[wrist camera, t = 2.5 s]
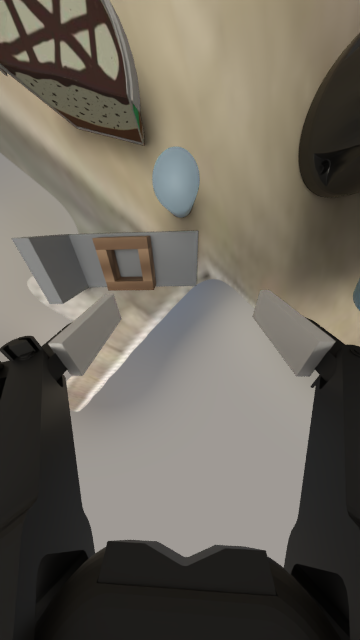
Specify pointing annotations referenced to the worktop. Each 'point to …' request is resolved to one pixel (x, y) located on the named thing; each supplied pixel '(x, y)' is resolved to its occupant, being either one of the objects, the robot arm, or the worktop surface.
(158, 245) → the board
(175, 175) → the dowel
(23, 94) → the worktop surface
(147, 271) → the socket block
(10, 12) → the food container
